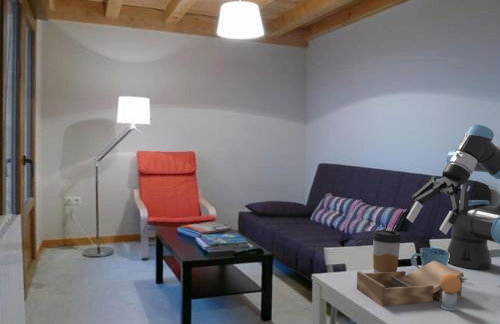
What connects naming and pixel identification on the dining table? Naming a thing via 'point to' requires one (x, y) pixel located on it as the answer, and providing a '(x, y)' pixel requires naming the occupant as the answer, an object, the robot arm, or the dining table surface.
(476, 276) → the dining table surface
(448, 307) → the tee
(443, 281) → the ball
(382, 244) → the coffee cup
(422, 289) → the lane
